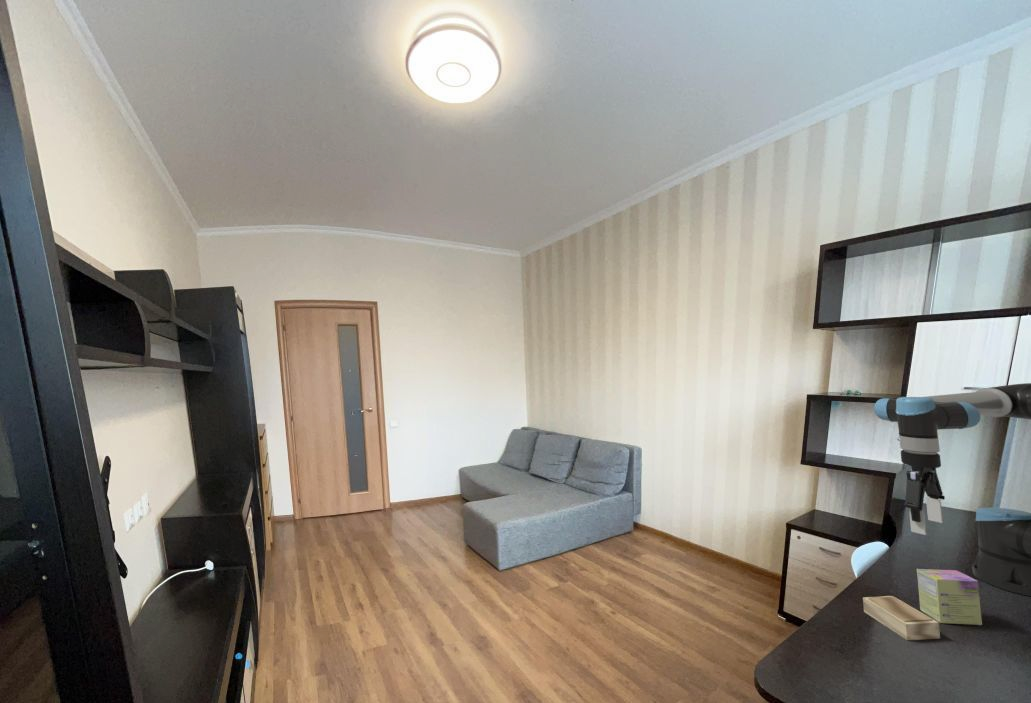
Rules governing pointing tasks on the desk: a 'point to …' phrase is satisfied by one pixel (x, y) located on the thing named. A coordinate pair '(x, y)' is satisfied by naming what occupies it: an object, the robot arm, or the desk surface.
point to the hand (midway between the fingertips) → (927, 527)
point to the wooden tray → (901, 618)
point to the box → (949, 596)
